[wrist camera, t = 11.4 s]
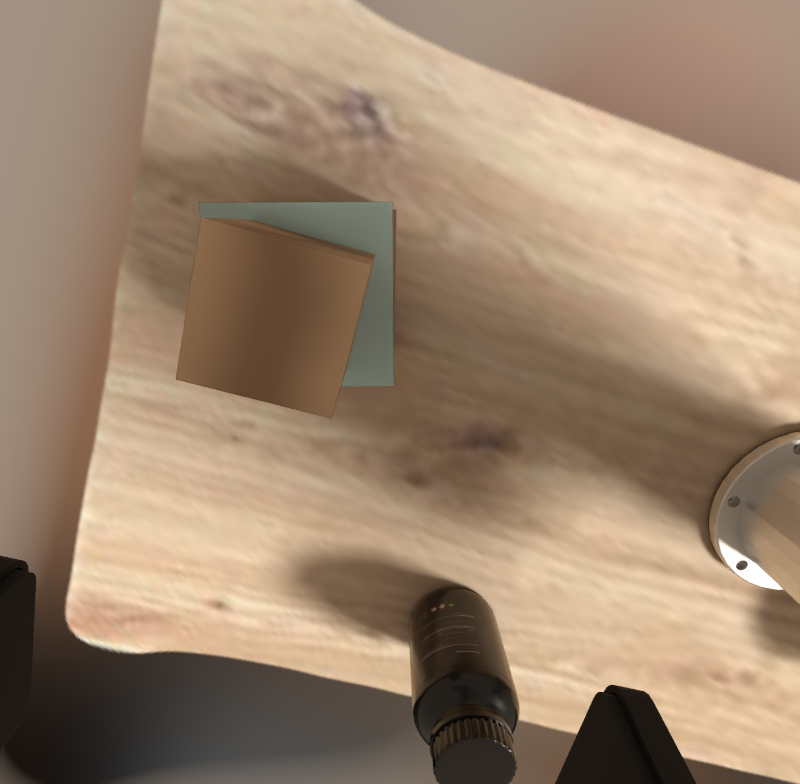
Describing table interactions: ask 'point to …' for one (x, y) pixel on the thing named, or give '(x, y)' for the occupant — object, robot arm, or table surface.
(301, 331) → the walnut block
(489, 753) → the supplement bottle
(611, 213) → the table surface
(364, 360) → the tower top slab
